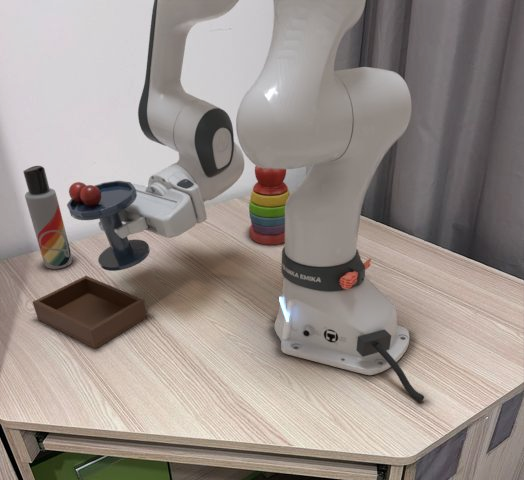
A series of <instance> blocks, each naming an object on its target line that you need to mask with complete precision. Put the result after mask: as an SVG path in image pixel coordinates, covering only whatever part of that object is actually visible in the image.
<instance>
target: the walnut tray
mask: <svg viewBox="0 0 524 480" xmlns="http://www.w3.org/2000/svg"><path fill="white" fill-rule="evenodd" d="M32 305H33V309H34V312H35V315H36V317H37V320H38V321H40V322H42V323H44V324H46V325H48V326H50V327H52V328H54V329H56V330H58V331H60V332H62V333H64V334H65V335H68V336H69V337H72V338H74V339H76V340H77V341H80V342H81V343H83V344H85V345H88V346H89V347H91V348H93V349H98V348H99V347H101V346H102V345H104V344H106V343H107V342H109V341H111V340H112V339H114V338H116V337H118V336H119V335H121V334H123V333H124V332H126V331H127V330H129V329H131V328H133V327H134V326H136V325H137V324H139V323H140V322H142V321H143V320H145V319H147V318H148V313H147V307H146V301H145V299H143V298H141V297H138V296H137V295H133V294H131V293H129V292H127V291H124V290H121V289H119V288H117V287H115V286H113V285H109V284H107V283H105V282H102V281H101V280H97V279H95V278H93V277H90V276H89V275H85V276H82V277H80V278H78V279H76V280H74V281H72V282H70V283H68V284H66V285H64V286H62V287H60V288H58V289H56V290H54V291H52V292H49V293H48V294H46V295H44V296H41V297H39V298H38V299H36V300H33V301H32Z"/></svg>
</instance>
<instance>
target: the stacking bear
mask: <svg viewBox="0 0 524 480" xmlns="http://www.w3.org/2000/svg"><path fill="white" fill-rule="evenodd" d="M286 175H287V169H266V168H260V167H257V166H256V165H255V166H254V176H255V178H256V179H255V180H256V181H257V182H255V184H254V185H253V187H252V190H251V194H250V199H249V205H248V210H249V211H248V214H249V218H250V219H249V220H250V223H251V224H250V226H249V230H248V231H249V237H250V238H251V239H252V240H253V241H254V242H255V243H258V244H261V245H279V244H283V243H285V206H286V202H287V199H288V197H289V196H290V194H291V193H290V190H289V187H288V185H287V184H286V183H285V182H284V181H285V179H286Z"/></svg>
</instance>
